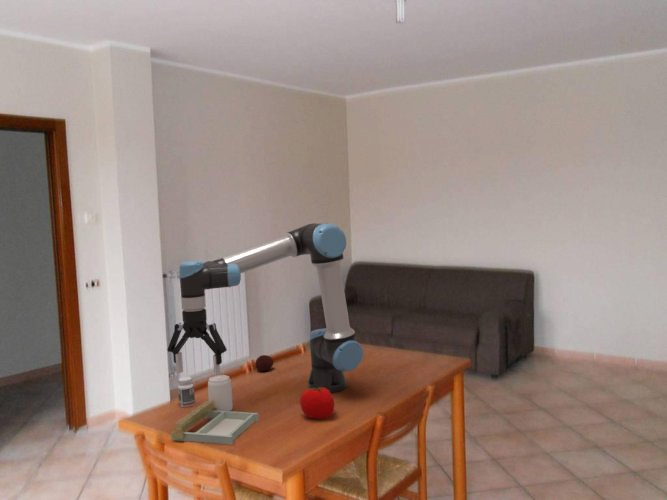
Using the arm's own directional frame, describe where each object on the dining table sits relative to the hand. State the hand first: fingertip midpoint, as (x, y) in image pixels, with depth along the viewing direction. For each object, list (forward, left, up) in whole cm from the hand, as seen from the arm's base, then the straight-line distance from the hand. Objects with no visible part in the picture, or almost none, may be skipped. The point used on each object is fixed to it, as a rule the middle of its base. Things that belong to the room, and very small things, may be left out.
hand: (198, 373), depth 191 cm
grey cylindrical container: (+1, -15, -19) cm, 24 cm away
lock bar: (+2, 0, -17) cm, 17 cm away
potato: (+5, -65, -19) cm, 67 cm away
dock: (-5, 0, -18) cm, 19 cm away
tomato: (-35, -17, -19) cm, 43 cm away
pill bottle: (+17, -19, -19) cm, 32 cm away
